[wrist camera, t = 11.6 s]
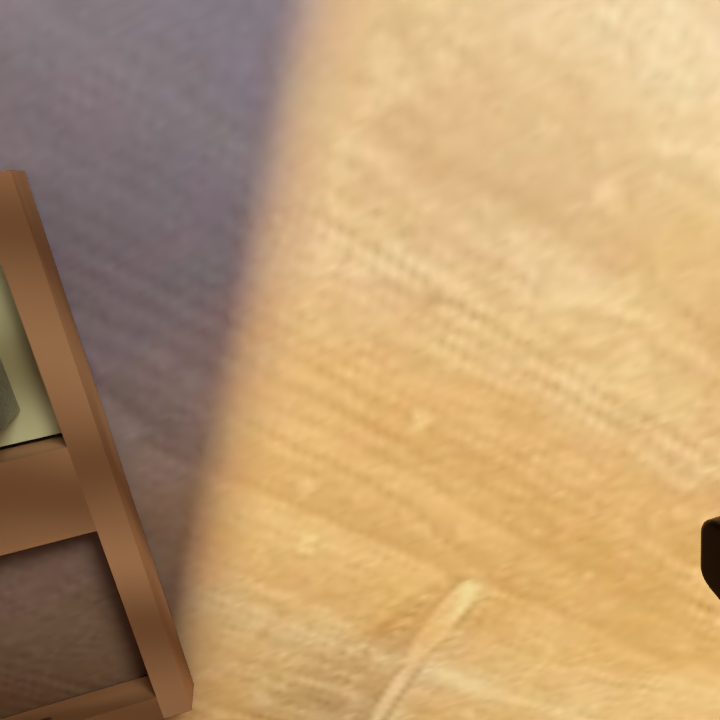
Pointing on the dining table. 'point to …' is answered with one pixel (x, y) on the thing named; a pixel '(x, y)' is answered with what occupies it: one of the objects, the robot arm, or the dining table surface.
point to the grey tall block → (6, 399)
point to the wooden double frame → (72, 466)
